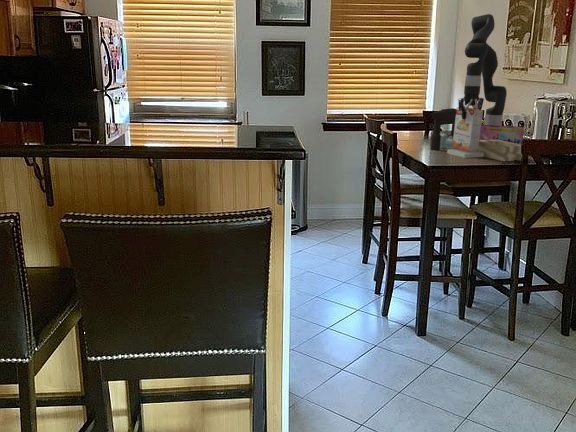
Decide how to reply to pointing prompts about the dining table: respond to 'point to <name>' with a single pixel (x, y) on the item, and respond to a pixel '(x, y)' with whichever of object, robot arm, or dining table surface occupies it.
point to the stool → (440, 119)
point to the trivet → (465, 153)
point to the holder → (500, 150)
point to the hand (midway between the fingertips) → (469, 118)
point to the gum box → (502, 133)
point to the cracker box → (467, 129)
